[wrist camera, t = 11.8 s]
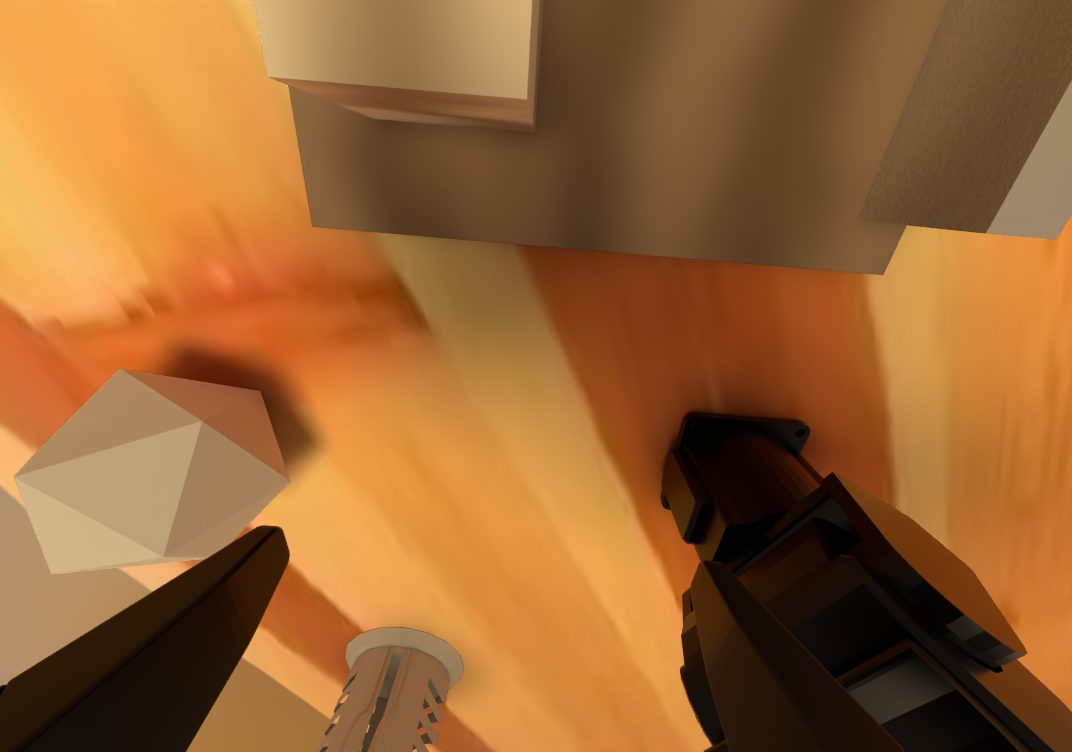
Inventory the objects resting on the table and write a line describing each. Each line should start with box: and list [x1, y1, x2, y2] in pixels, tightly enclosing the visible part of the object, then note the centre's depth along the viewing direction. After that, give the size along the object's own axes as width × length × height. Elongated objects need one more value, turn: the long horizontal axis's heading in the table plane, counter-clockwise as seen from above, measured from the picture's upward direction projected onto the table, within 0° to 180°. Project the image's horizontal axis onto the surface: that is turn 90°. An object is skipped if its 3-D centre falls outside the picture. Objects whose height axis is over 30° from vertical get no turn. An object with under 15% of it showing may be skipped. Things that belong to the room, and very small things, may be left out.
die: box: [14, 368, 290, 574], centre depth 18 cm, size 8×9×10 cm
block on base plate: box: [288, 0, 1072, 275], centre depth 11 cm, size 24×14×6 cm, turn 86°
